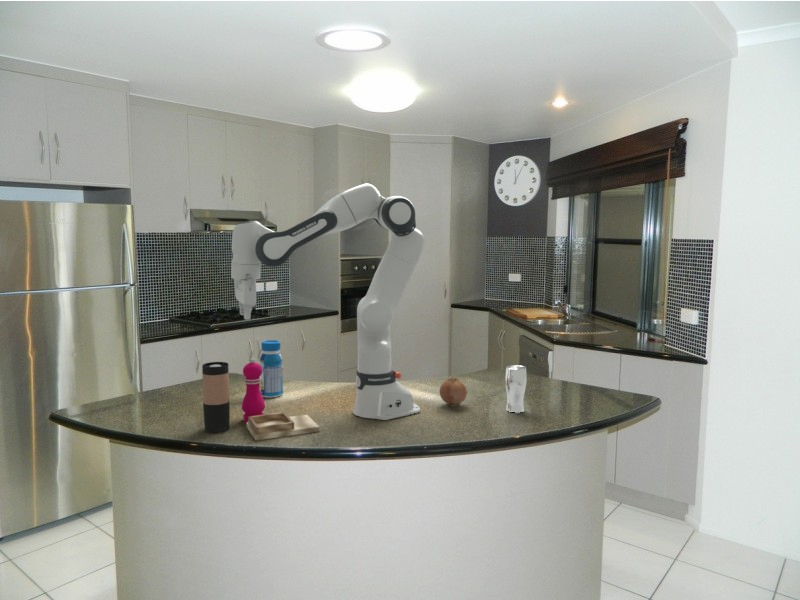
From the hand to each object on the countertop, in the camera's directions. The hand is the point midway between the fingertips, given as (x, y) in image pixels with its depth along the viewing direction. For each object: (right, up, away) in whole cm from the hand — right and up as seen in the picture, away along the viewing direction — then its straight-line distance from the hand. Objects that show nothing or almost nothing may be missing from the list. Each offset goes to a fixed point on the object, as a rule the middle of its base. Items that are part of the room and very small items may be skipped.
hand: (245, 317), depth 183 cm
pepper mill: (+2, -33, +3) cm, 33 cm away
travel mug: (-7, -34, -7) cm, 35 cm away
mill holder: (+13, -34, -6) cm, 37 cm away
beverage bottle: (+2, -30, +31) cm, 43 cm away
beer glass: (+88, -32, +14) cm, 94 cm away
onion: (+67, -32, +20) cm, 77 cm away
